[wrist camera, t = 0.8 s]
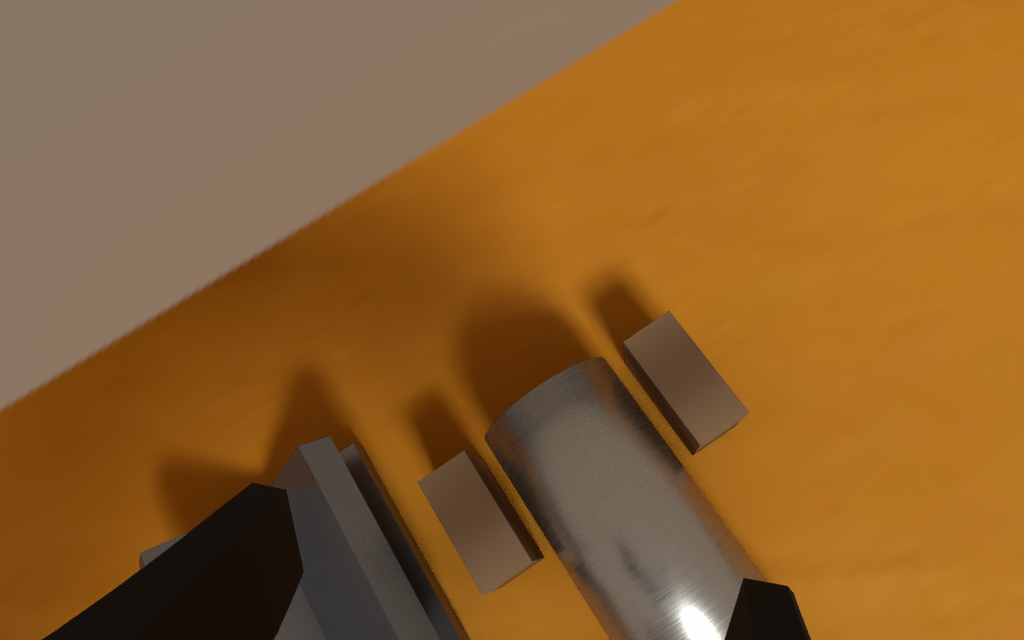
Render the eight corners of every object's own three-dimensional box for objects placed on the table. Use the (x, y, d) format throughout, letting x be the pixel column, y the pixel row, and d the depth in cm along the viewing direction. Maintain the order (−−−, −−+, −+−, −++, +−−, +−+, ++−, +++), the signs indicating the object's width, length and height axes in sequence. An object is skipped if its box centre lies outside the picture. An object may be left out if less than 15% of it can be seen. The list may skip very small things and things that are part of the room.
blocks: (735, 425, 24) (749, 412, 21) (500, 587, 24) (482, 595, 21) (665, 335, 25) (668, 310, 22) (442, 487, 25) (417, 481, 22)
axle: (834, 686, 21) (885, 730, 17) (706, 775, 21) (724, 843, 17) (608, 374, 25) (601, 342, 21) (500, 448, 25) (469, 432, 21)
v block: (472, 644, 23) (442, 665, 20) (284, 774, 23) (219, 819, 20) (362, 445, 26) (318, 432, 22) (192, 561, 26) (119, 566, 22)
